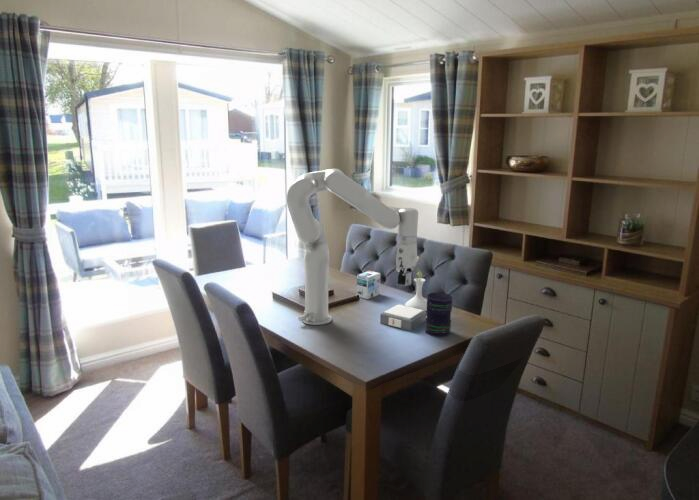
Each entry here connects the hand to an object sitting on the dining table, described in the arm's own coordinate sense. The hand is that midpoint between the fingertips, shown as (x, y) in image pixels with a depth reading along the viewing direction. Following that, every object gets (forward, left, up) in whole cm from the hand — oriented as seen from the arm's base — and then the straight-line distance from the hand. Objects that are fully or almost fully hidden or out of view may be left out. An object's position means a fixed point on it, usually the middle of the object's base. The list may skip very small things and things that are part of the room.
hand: (404, 282), depth 215 cm
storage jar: (-2, -16, -17) cm, 24 cm away
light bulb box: (+21, +30, -18) cm, 40 cm away
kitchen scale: (0, 0, -17) cm, 17 cm away
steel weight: (0, 0, -1) cm, 1 cm away
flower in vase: (+17, +2, -17) cm, 24 cm away
